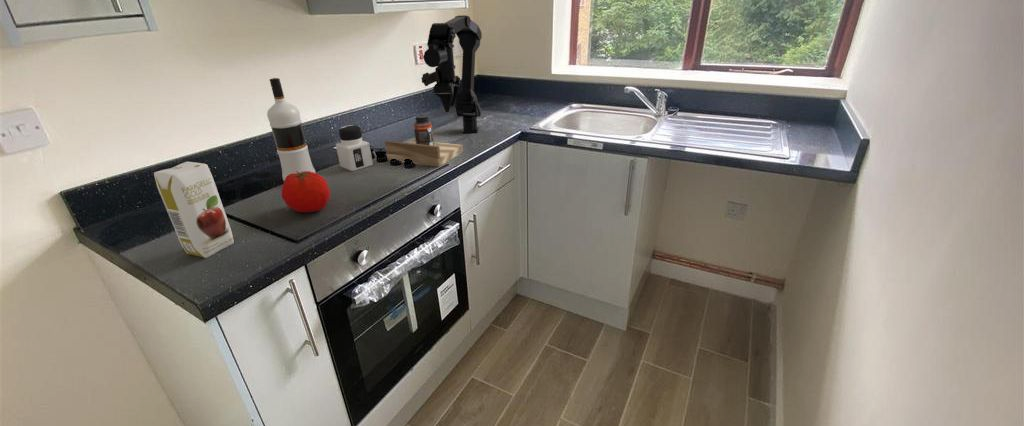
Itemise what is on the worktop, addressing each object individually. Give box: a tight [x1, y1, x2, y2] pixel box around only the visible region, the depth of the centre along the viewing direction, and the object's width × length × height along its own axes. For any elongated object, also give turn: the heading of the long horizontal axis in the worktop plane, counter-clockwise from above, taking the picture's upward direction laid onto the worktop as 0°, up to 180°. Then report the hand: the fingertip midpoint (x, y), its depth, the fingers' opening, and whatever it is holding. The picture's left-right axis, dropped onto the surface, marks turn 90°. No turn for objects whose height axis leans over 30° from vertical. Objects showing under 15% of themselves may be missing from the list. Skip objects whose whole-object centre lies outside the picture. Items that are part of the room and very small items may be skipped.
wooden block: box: [384, 139, 464, 168], centre depth 150 cm, size 16×20×6 cm
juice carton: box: [153, 161, 235, 259], centre depth 94 cm, size 8×9×19 cm
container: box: [335, 124, 374, 172], centre depth 142 cm, size 8×8×13 cm
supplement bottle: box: [413, 114, 435, 146], centre depth 148 cm, size 6×6×11 cm
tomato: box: [280, 171, 331, 213], centre depth 113 cm, size 11×13×10 cm
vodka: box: [266, 77, 317, 182], centre depth 128 cm, size 9×9×30 cm
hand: (449, 109), depth 157 cm, fingers open, 9 cm apart
